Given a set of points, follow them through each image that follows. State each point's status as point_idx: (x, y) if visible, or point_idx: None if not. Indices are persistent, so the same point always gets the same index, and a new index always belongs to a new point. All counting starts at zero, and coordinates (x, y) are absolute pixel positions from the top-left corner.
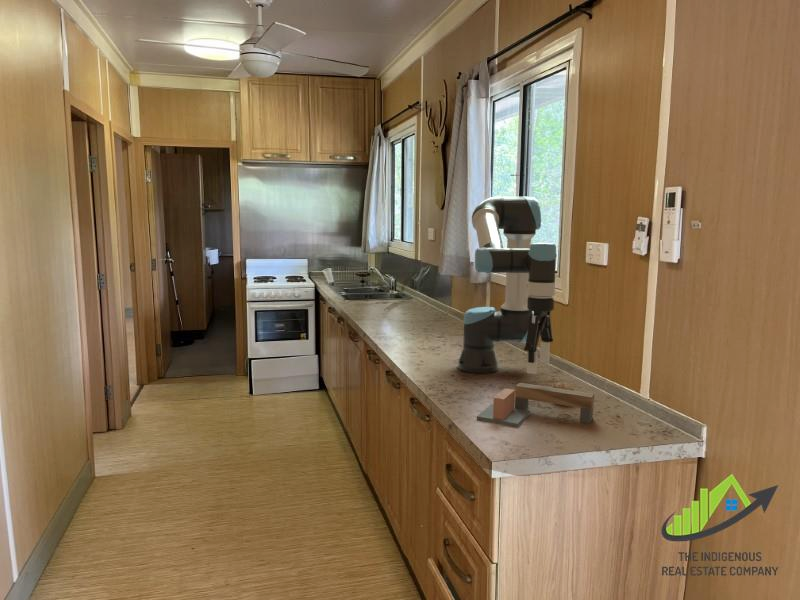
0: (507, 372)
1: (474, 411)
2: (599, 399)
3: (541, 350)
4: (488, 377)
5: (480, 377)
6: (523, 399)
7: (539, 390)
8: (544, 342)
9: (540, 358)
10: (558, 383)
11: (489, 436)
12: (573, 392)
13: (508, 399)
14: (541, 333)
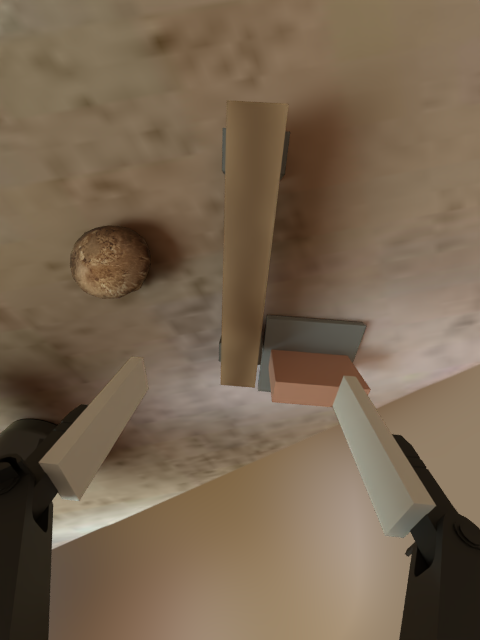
0: (24, 402)
1: None
2: (33, 152)
3: (114, 436)
4: None
5: None
6: (262, 347)
7: (261, 325)
8: (70, 483)
9: (139, 401)
10: (102, 288)
11: (427, 357)
12: (248, 208)
13: (326, 377)
14: (43, 618)
